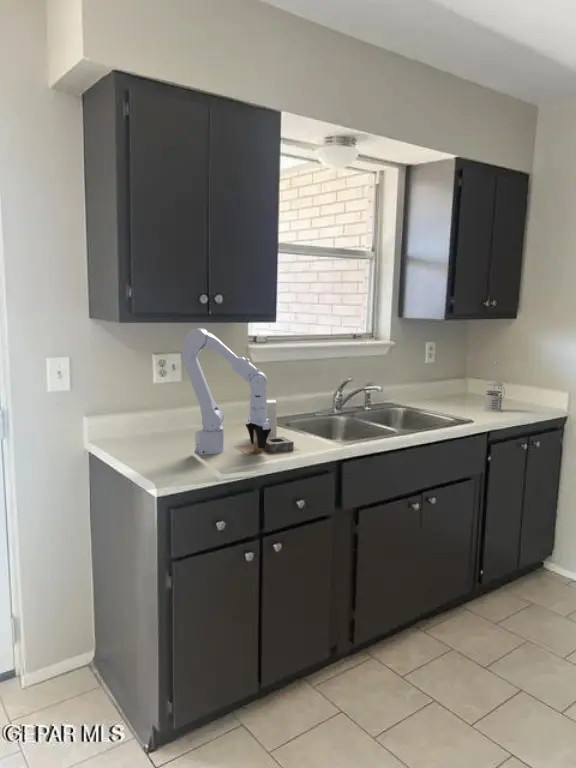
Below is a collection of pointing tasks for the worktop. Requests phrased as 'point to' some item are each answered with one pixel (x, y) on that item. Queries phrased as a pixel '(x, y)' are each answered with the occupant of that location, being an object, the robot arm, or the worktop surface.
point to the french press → (494, 397)
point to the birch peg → (256, 445)
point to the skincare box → (272, 418)
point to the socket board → (251, 450)
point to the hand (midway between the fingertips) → (258, 445)
